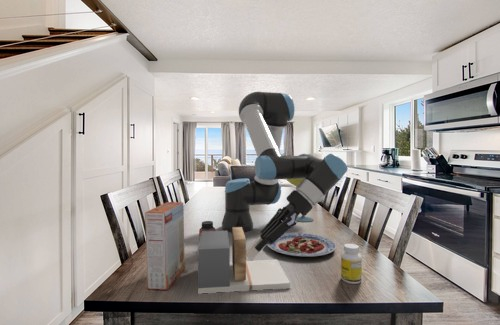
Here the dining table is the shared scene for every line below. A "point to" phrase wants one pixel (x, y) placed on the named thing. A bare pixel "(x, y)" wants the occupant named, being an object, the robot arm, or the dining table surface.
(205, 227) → the supplement bottle
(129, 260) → the dining table surface
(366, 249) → the dining table surface
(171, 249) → the cracker box
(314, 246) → the ceramic plate
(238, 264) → the plate
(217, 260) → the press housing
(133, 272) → the dining table surface
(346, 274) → the supplement bottle
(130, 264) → the dining table surface
